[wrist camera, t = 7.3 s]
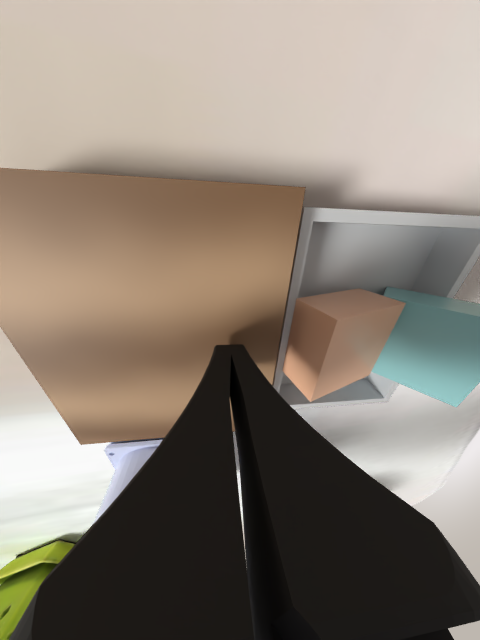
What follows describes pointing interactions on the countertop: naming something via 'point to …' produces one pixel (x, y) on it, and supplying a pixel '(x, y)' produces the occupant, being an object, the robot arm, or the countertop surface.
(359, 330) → the terracotta tile
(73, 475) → the countertop surface
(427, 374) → the teal tile
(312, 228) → the tray
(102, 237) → the walnut board
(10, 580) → the flower pot
